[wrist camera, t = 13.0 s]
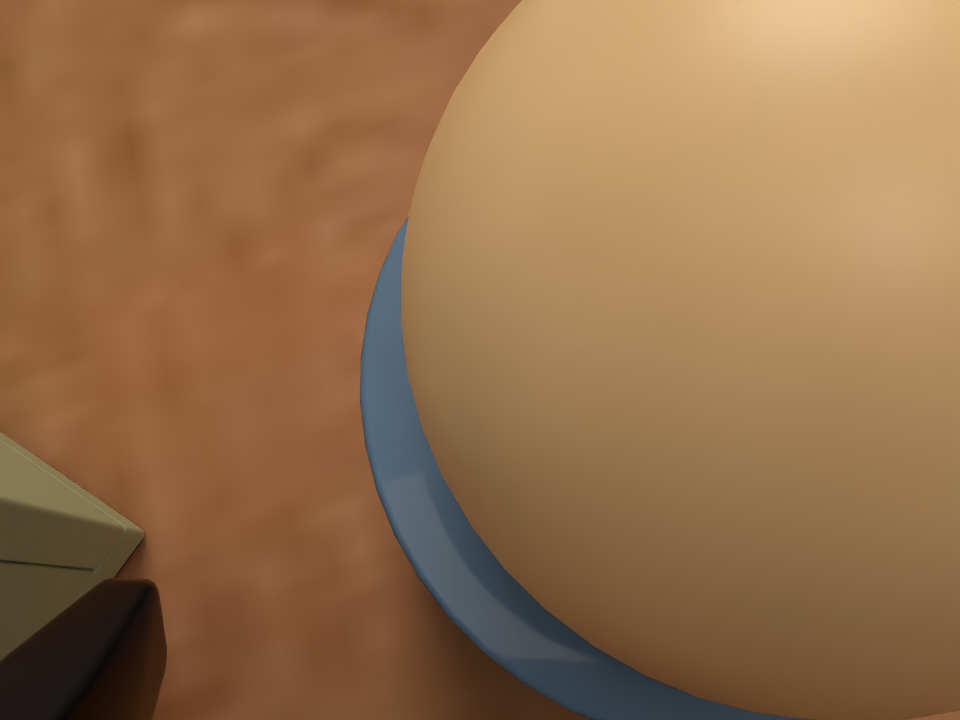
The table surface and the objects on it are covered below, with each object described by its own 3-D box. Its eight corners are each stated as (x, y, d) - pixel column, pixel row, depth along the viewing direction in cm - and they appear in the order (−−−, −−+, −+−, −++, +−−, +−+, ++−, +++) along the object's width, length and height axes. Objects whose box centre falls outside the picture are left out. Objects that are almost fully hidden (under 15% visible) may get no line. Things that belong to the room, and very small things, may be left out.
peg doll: (497, 726, 15) (801, 1452, 2) (355, 432, 16) (4, -228, 3) (777, 570, 16) (2206, 428, 3) (623, 302, 17) (1169, -634, 4)
